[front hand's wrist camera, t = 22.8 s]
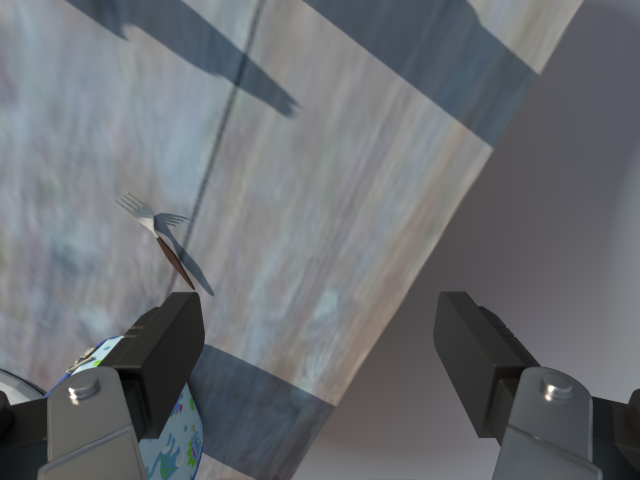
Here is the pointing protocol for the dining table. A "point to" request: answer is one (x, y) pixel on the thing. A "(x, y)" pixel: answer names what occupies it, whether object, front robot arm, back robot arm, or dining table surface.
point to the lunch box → (177, 436)
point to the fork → (147, 219)
